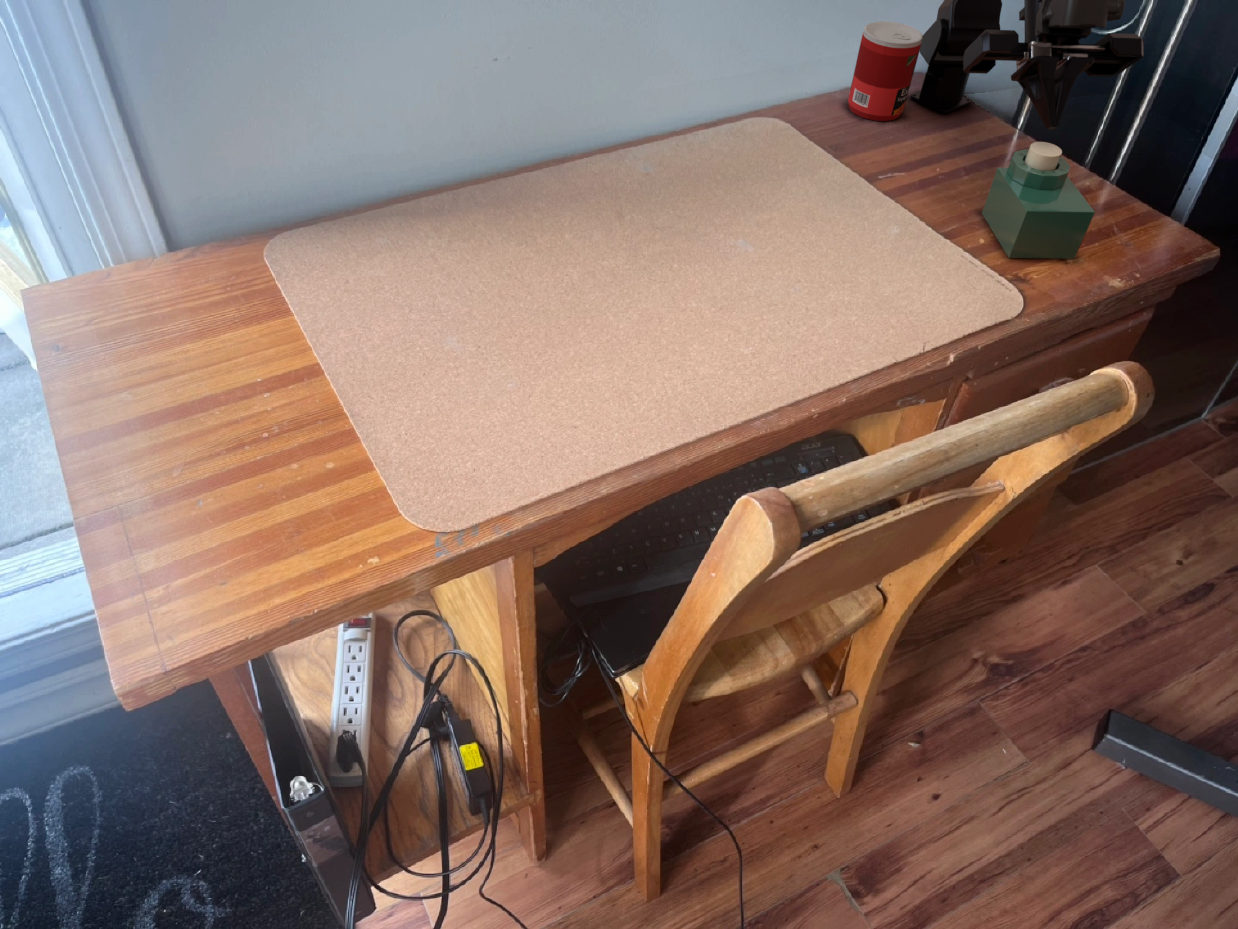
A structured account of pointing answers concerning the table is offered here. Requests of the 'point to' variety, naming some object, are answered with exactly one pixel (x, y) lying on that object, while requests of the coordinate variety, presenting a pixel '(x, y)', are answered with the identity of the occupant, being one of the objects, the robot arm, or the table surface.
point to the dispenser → (1037, 211)
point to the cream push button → (1043, 156)
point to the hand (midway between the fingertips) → (1052, 128)
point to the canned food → (884, 70)
